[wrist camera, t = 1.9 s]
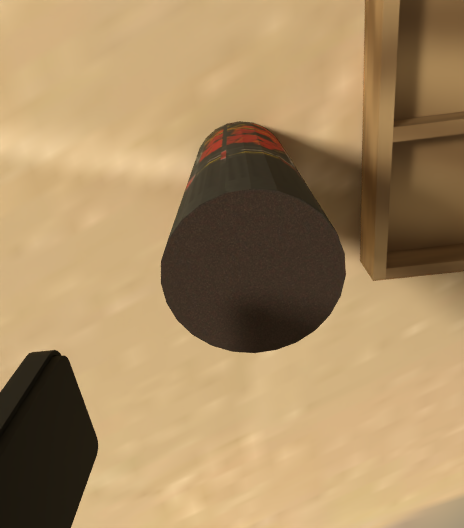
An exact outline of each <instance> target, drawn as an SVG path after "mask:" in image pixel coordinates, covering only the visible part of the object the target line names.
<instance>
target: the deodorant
mask: <svg viewBox="0 0 464 528" xmlns="http://www.w3.org/2000/svg"><path fill="white" fill-rule="evenodd" d="M345 276H346V271H345V253H344V251H343V248H342V245H341V243H340V240H339V237H338V235H337V232H336V231H335V229H334V228H333V226H332V224H331V223H330V221H329V220H328V218H327V216H326V215H325V213H324V212H323V210H322V209H321V207H320V205H319V204H318V202H317V201H316V199H315V197H314V196H313V194H312V193H311V191H310V189H309V188H308V186H307V185H306V183H305V182H304V180H303V178H302V177H301V175H300V174H299V172H298V170H297V169H296V167H295V166H294V164H293V163H292V161H291V159H290V158H289V156H288V155H287V153H286V151H285V150H284V148H283V147H282V145H281V144H280V142H279V141H278V140H277V138H276V137H275V136H274V135H273V134H272V133H271V132H270V131H268V130H267V129H266V128H264V127H262V126H259V125H257V124H254V123H250V122H235V123H229V124H226V125H224V126H222V127H220V128H218V129H216V130H215V131H214V132H212V133H211V134H210V135H209V136H208V137H207V138H206V139H205V141H204V142H203V144H202V146H201V147H200V149H199V152H198V155H197V158H196V161H195V164H194V166H193V169H192V172H191V175H190V178H189V181H188V184H187V187H186V189H185V192H184V195H183V198H182V201H181V204H180V207H179V210H178V213H177V215H176V218H175V221H174V224H173V227H172V230H171V233H170V236H169V238H168V241H167V245H166V248H165V251H164V254H163V257H162V260H161V285H162V288H163V292H164V295H165V299H166V302H167V304H168V306H169V308H170V309H171V311H172V312H173V314H174V316H175V317H176V319H177V320H178V321H179V322H180V323H181V324H182V325H183V326H184V327H185V328H186V329H187V330H188V331H189V332H190V333H191V334H192V335H194V336H196V337H197V338H199V339H201V340H203V341H205V342H206V343H208V344H210V345H212V346H215V347H219V348H222V349H226V350H229V351H232V352H247V353H258V352H265V351H271V350H277V349H280V348H282V347H285V346H288V345H291V344H293V343H296V342H298V341H299V340H301V339H303V338H304V337H306V336H307V335H309V334H310V333H312V332H313V331H315V330H316V329H317V328H318V327H319V326H320V325H321V324H322V323H323V322H324V321H325V320H326V319H327V317H328V316H329V315H330V314H331V312H332V311H333V309H334V307H335V305H336V303H337V302H338V300H339V298H340V296H341V292H342V288H343V284H344V280H345Z"/></svg>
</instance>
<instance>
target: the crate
mask: <svg viewBox="0 0 464 528" xmlns="http://www.w3.org/2000/svg"><path fill="white" fill-rule="evenodd" d="M360 262H361V263H362V265H363V266H364V268H365V269H366V271H367V272H368V274H369V275H370V277H371V278H372V280H373V281H377V280H386V279H395V278H405V277H414V276H423V275H433V274H442V273H452V272H461V271H464V0H365V39H364V90H363V141H362V192H361V243H360Z"/></svg>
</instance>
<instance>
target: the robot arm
mask: <svg viewBox="0 0 464 528" xmlns="http://www.w3.org/2000/svg"><path fill="white" fill-rule="evenodd" d="M97 451H98V440H97V436H96V434H95V431H94V428H93V425H92V423H91V420H90V417H89V414H88V411H87V409H86V406H85V403H84V400H83V398H82V395H81V392H80V389H79V387H78V384H77V381H76V378H75V376H74V373H73V370H72V367H71V365H70V362H69V360H68V358H67V357H66V356H61V354H60V353H59V352H58V351H56V350H51V351H41V352H32V353H29V354H28V355H27V356H26V358H25V359H24V360H23V362H22V363H21V365H20V366H19V367H18V369H17V370H16V371H15V373H14V374H13V376H12V377H11V378H10V380H9V381H8V382H7V384H6V385H5V387H4V388H3V389H2V391H1V392H0V528H71V526H72V523H73V520H74V517H75V515H76V512H77V509H78V506H79V503H80V501H81V498H82V495H83V492H84V489H85V487H86V484H87V481H88V478H89V475H90V473H91V470H92V467H93V464H94V461H95V459H96V456H97Z"/></svg>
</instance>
